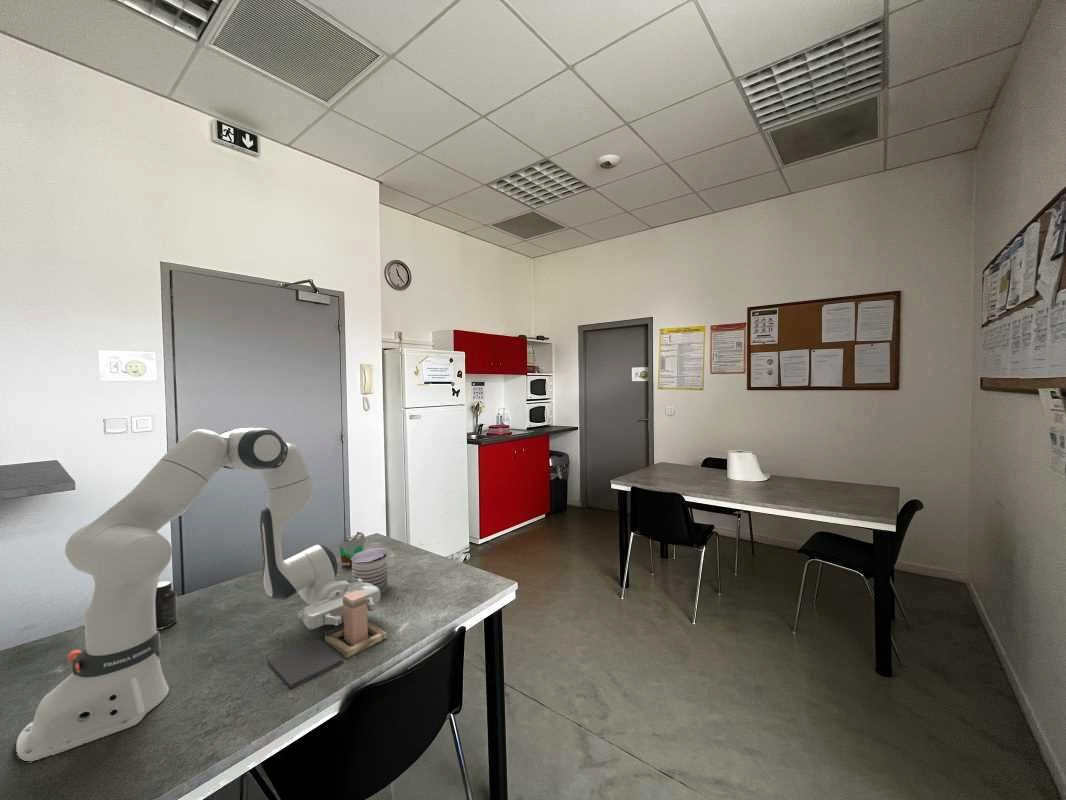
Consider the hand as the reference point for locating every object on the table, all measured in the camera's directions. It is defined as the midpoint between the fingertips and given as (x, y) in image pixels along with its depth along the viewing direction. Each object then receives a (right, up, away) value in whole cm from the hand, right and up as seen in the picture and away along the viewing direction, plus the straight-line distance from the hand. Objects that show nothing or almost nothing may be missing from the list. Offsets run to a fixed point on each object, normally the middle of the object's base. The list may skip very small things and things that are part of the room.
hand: (356, 614), depth 118 cm
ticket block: (0, -7, +1) cm, 7 cm away
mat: (-9, -7, -9) cm, 15 cm away
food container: (-21, -6, +53) cm, 58 cm away
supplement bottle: (-60, -8, +10) cm, 61 cm away
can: (-8, -6, +31) cm, 32 cm away
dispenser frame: (0, -7, +1) cm, 7 cm away
